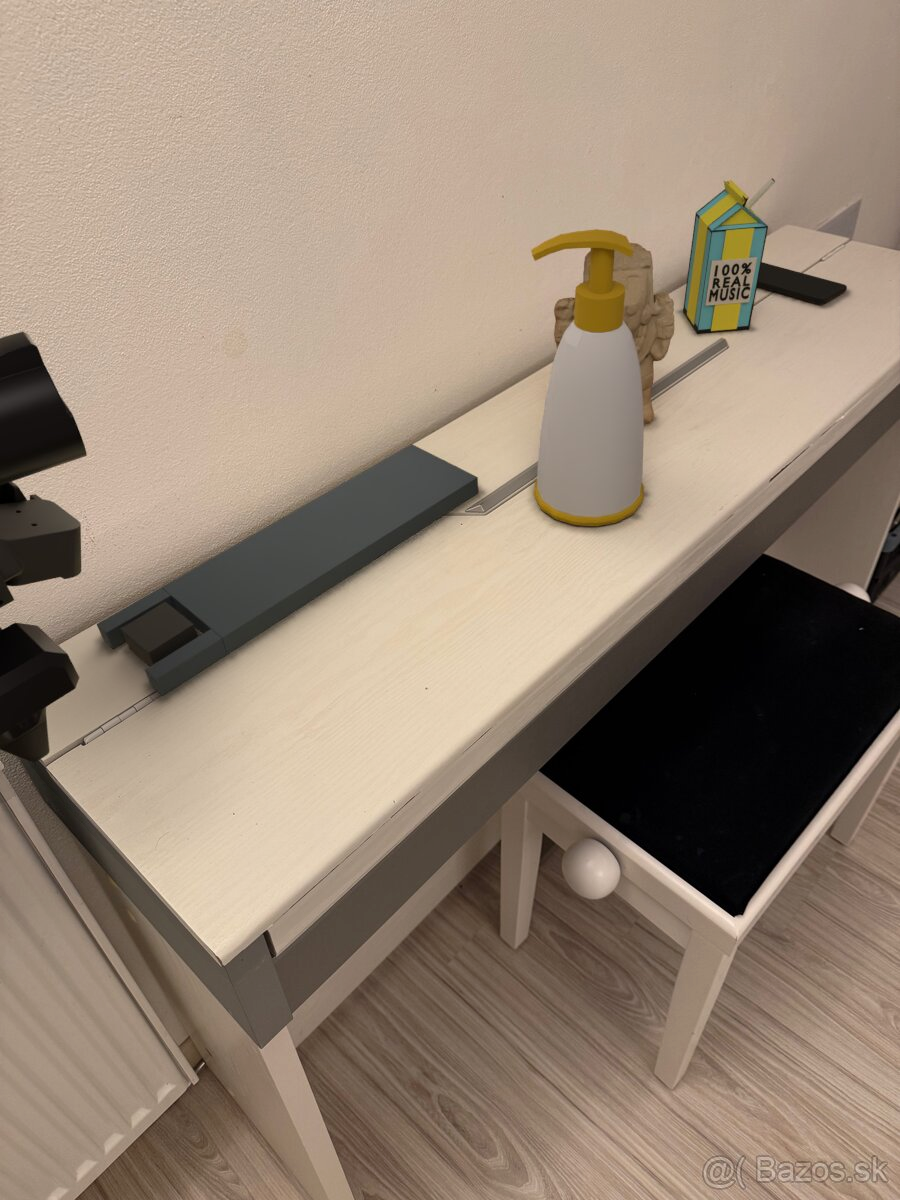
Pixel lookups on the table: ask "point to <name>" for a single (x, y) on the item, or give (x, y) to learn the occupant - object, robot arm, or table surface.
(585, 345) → the soap bottle
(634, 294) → the figurine
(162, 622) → the black block
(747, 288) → the carton
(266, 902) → the table surface
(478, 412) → the table surface
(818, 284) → the smartphone
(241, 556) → the grey rectangular block
